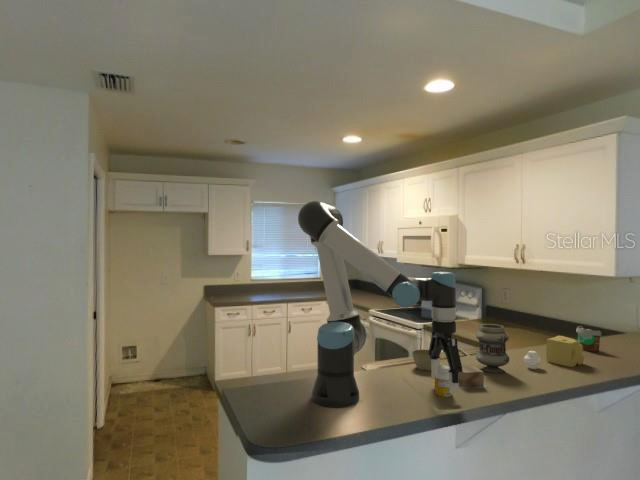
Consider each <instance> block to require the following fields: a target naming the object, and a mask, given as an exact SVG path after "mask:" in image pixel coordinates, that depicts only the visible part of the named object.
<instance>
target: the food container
mask: <svg viewBox="0 0 640 480" xmlns="http://www.w3.org/2000/svg"><path fill="white" fill-rule="evenodd" d="M575 330H576V331H575V332H576V333H577V341H578V342H579V344H580V345H582V347H583V351H584V352H589V353H599V352H600V342H601V337H602V332H601V330H593V329H590V328H584V327H583V325H579V326H577V327H576V329H575ZM583 351H582V352H583Z"/></svg>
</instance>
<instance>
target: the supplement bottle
mask: <svg viewBox="0 0 640 480" xmlns="http://www.w3.org/2000/svg"><path fill="white" fill-rule="evenodd" d="M449 370H450V367H449V365H440V366H437V371H438V372H437V373H436V374H435V379H434V394H435V395H436V396H439V397H444V398H447V397H452V396H453V393H449V372H448V371H449Z"/></svg>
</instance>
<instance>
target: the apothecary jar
mask: <svg viewBox="0 0 640 480" xmlns="http://www.w3.org/2000/svg"><path fill="white" fill-rule="evenodd" d="M475 337H476V339H477V340H478V344H479V345H478V352H476V353H475V358H476V360H477V362H479V363H480V364H482V365H483V367H482V371H485V372H489V373H502V372H504V373H506V371H505V370H504V369H502V368H500V367H503V366H506V365H507V364H509V362H510V356H509V354H507V348H506V347H507V346H506V342H507V341H509V339H510V337H509V334H508V333H507V331H505V327H504V325H501V324H494V323H484V324H480V327H479V330H477V331H476V333H475Z"/></svg>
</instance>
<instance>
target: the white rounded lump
mask: <svg viewBox="0 0 640 480" xmlns="http://www.w3.org/2000/svg"><path fill="white" fill-rule="evenodd" d="M523 360H524V363H525V365H526V366H527V368H528V369H530V370H537V369H538V368H539V366H540V365H541V362H542V359H541V358H540V356H539V355H538V352H537V351H534V350H530V351H527V354H526V355H524V357H523Z"/></svg>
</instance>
